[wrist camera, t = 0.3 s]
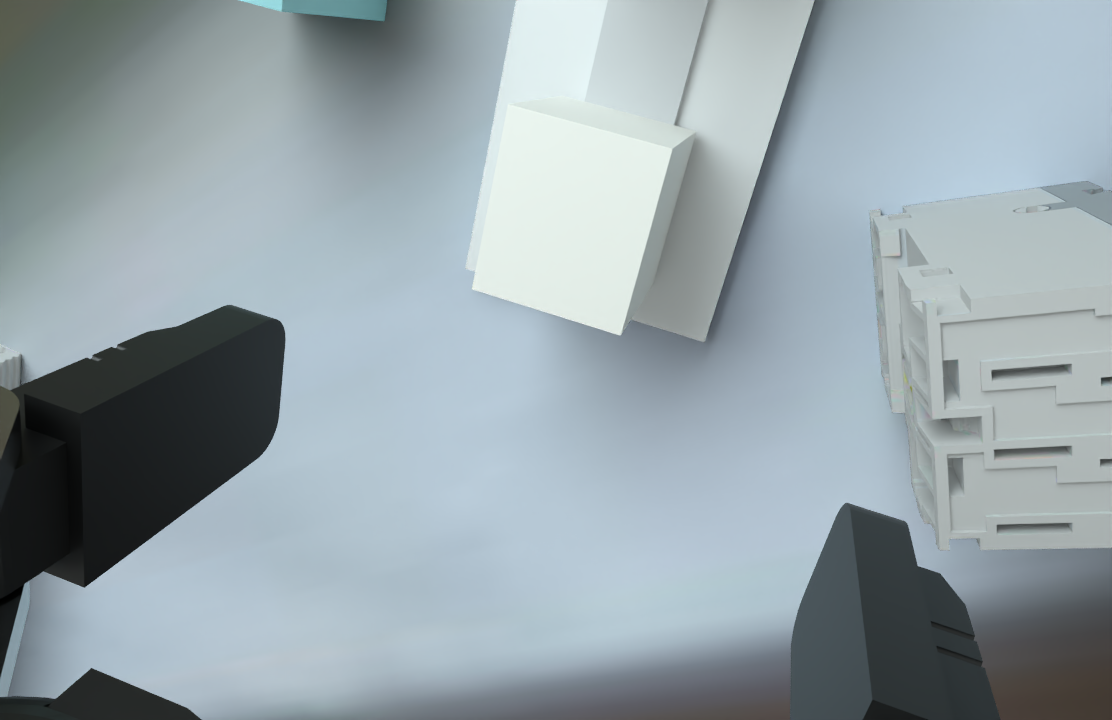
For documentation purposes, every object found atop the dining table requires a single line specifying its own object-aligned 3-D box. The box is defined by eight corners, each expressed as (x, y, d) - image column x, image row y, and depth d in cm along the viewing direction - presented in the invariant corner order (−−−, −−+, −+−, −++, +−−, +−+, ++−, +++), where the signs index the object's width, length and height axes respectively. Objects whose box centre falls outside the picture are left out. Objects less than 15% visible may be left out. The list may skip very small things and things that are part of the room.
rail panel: (599, -387, 31) (528, -549, 23) (922, -334, 29) (972, -490, 21) (474, 263, 41) (393, 314, 33) (707, 334, 39) (683, 407, 31)
